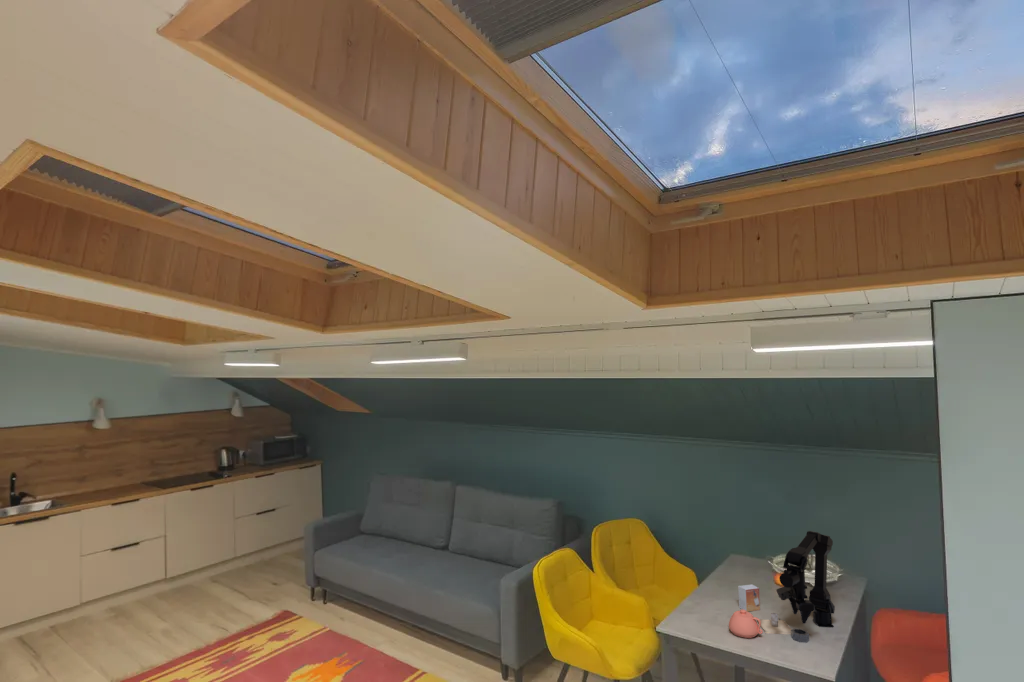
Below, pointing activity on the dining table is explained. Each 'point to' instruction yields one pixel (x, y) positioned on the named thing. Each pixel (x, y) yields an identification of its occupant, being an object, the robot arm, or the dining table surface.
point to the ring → (800, 635)
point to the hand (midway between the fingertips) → (799, 618)
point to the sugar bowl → (744, 624)
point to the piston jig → (775, 625)
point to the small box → (749, 597)
